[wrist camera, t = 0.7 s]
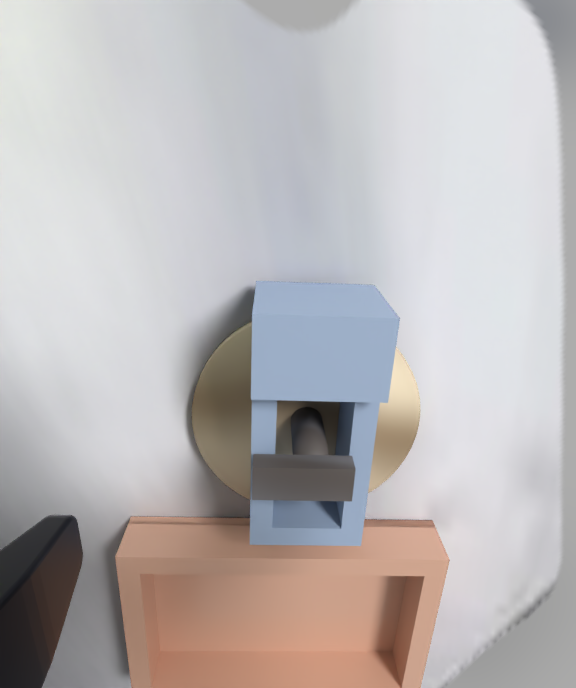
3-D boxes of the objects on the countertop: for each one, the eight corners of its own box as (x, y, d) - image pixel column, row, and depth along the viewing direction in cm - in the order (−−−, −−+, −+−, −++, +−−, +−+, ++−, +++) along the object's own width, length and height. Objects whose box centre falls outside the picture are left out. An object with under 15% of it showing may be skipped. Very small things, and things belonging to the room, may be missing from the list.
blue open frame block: (349, 496, 22) (365, 565, 19) (252, 495, 22) (248, 564, 18) (374, 285, 18) (399, 318, 15) (256, 280, 18) (252, 313, 14)
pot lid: (400, 504, 23) (431, 589, 19) (197, 501, 23) (178, 587, 18) (432, 311, 19) (480, 359, 15) (189, 303, 19) (163, 351, 15)
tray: (405, 654, 27) (417, 701, 25) (145, 654, 27) (133, 702, 24) (432, 520, 24) (449, 560, 21) (130, 516, 23) (115, 557, 21)
